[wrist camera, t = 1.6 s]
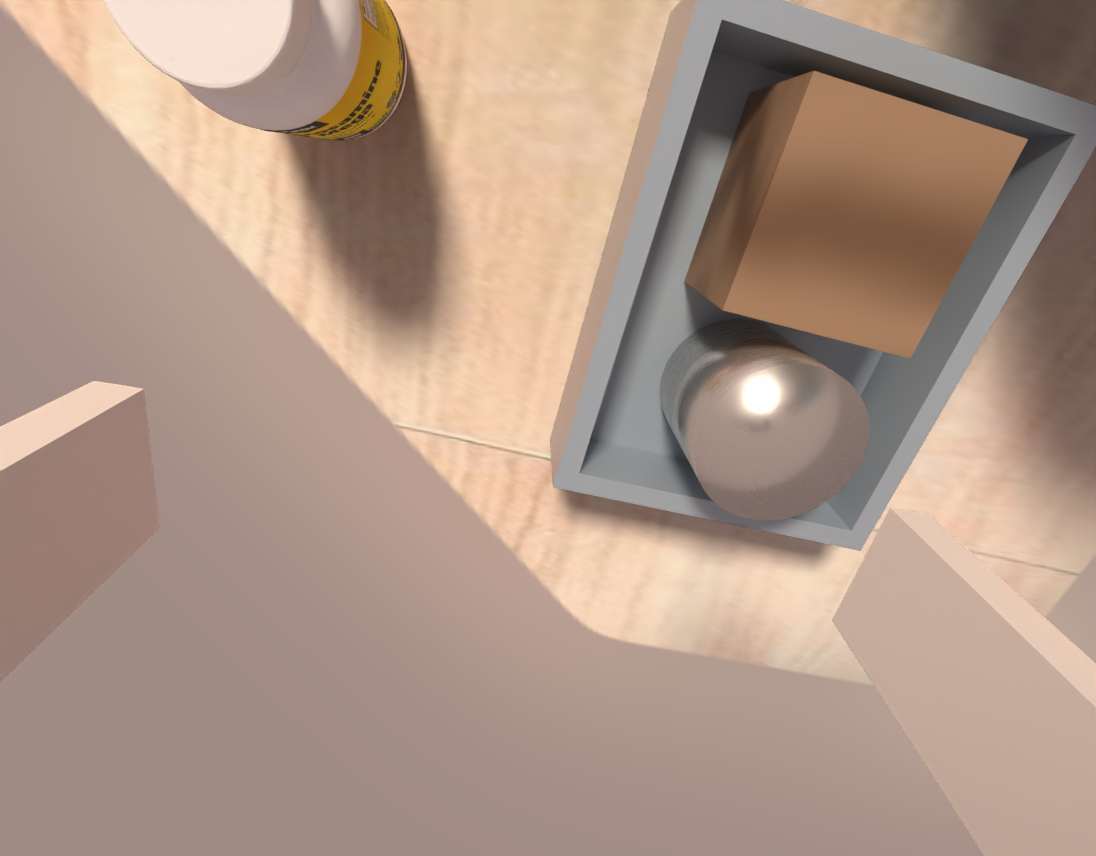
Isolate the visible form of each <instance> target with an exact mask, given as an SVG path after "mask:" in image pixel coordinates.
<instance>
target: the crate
mask: <svg viewBox="0 0 1096 856" xmlns="http://www.w3.org/2000/svg"><path fill="white" fill-rule="evenodd" d="M811 71H817V72H820V73H823V74H826V75H829V76H832V77H835V78H839V79H842V80H845V81H848V82H851V83H854V84H857V85H860V86H864V87H867V88H870V89H873V90H876V91H879V92H882V93H885V94H889V95H892V96H895V97H898V98H901V99H904V100H907V101H910V102H914V103H917V104H920V105H923V106H926V107H929V108H932V109H935V110H939V111H942V112H945V113H948V114H951V115H954V116H957V117H960V118H963V119H967V120H970V121H973V122H976V123H979V124H982V125H985V126H988V127H992V128H995V129H998V130H1001V131H1004V132H1007V133H1010V134H1013V135H1017V136H1020V137H1023V138H1026V139H1028V141H1027V143H1026V144H1025V146H1024V148H1023V150H1022V152H1021V154H1020V156H1019V157H1018V159H1017V161H1016V163H1015V165H1014V167H1013V169H1012V171H1011V172H1010V174H1009V176H1008V178H1007V180H1006V182H1005V184H1004V185H1003V187H1002V189H1001V191H1000V193H999V195H998V197H997V198H996V200H995V202H994V204H993V206H992V208H991V210H990V212H989V213H988V215H987V217H986V219H985V221H984V223H983V225H982V226H981V228H980V230H979V232H978V234H977V236H976V238H975V239H974V241H973V243H972V245H971V247H970V249H969V251H968V253H967V254H966V256H965V258H964V260H963V262H962V264H961V266H960V267H959V269H958V271H957V273H956V275H955V277H954V279H953V281H952V282H951V284H950V286H949V288H948V290H947V292H946V294H945V295H944V297H943V299H942V301H941V303H940V305H939V307H938V308H937V310H936V312H935V314H934V316H933V318H932V320H931V322H930V323H929V325H928V327H927V329H926V331H925V333H924V335H923V336H922V338H921V340H920V342H919V344H918V346H917V348H916V349H915V351H914V353H913V355H912V357H911V359H910V358H906V357H903V356H899V355H895V354H891V353H887V352H883V351H879V350H875V349H871V348H868V347H864V346H860V345H856V344H852V343H848V342H844V341H840V340H836V339H832V338H829V337H825V336H821V335H817V334H813V333H809V332H805V331H801V330H797V329H794V328H790V327H786V326H782V325H778V324H774V323H770V322H766V321H762V320H758V319H755V318H751V317H747V316H743V315H739V314H735V313H731V312H727V311H723V310H722V309H720V308H719V307H718V306H716V305H715V304H714V303H712V302H711V301H710V300H708V299H707V298H706V297H704V296H703V295H702V294H700V293H699V292H698V291H696V290H695V289H694V288H692V287H691V286H690V285H688V284H687V283H686V282H684V280H685V277H686V275H687V272H688V269H689V266H690V263H691V260H692V257H693V254H694V251H695V249H696V246H697V243H698V240H699V237H700V234H701V231H702V228H703V225H704V223H705V220H706V217H707V214H708V211H709V208H710V205H711V202H712V199H713V197H714V194H715V191H716V188H717V185H718V182H719V179H720V176H721V173H722V171H723V168H724V165H725V162H726V159H727V156H728V153H729V150H730V147H731V145H732V142H733V139H734V136H735V133H736V130H737V127H738V124H739V121H740V119H741V116H742V113H743V110H744V107H745V104H746V101H747V98H748V95H749V93H750V92H753V91H756V90H759V89H762V88H765V87H767V86H770V85H773V84H776V83H779V82H782V81H785V80H788V79H791V78H794V77H797V76H800V75H803V74H806V73H809V72H811ZM1095 148H1096V105H1093V104H1090V103H1088V102H1085V101H1082V100H1079V99H1076V98H1073V97H1070V96H1067V95H1064V94H1061V93H1058V92H1055V91H1052V90H1049V89H1046V88H1043V87H1040V86H1037V85H1034V84H1031V83H1028V82H1025V81H1022V80H1019V79H1016V78H1013V77H1010V76H1007V75H1004V74H1001V73H998V72H995V71H992V70H989V69H986V68H983V67H980V66H977V65H974V64H971V63H968V62H965V61H962V60H959V59H956V58H953V57H950V56H947V55H944V54H941V53H938V52H935V51H932V50H929V49H926V48H923V47H920V46H917V45H914V44H911V43H908V42H905V41H902V40H899V39H896V38H893V37H890V36H887V35H884V34H881V33H878V32H875V31H872V30H869V29H866V28H863V27H860V26H857V25H854V24H851V23H848V22H845V21H842V20H839V19H836V18H833V17H830V16H827V15H824V14H821V13H818V12H815V11H812V10H810V9H807V8H804V7H801V6H798V5H795V4H792V3H789V2H786V1H783V0H681V1H680V3H679V4H678V5H677V6H676V7H675V8H674V9H673V10H672V11H671V14H670V17H669V21H668V24H667V28H666V31H665V35H664V39H663V42H662V46H661V49H660V53H659V56H658V60H657V63H656V67H655V70H654V74H653V77H652V81H651V85H650V88H649V92H648V95H647V99H646V102H645V106H644V109H643V113H642V116H641V120H640V124H639V127H638V131H637V134H636V138H635V141H634V145H633V148H632V152H631V155H630V159H629V162H628V166H627V170H626V173H625V177H624V180H623V184H622V187H621V191H620V194H619V198H618V201H617V205H616V208H615V212H614V216H613V219H612V223H611V226H610V230H609V233H608V237H607V240H606V244H605V247H604V251H603V254H602V258H601V262H600V265H599V269H598V272H597V276H596V279H595V283H594V286H593V290H592V293H591V297H590V301H589V304H588V308H587V311H586V315H585V318H584V322H583V325H582V329H581V332H580V336H579V339H578V343H577V347H576V350H575V354H574V357H573V361H572V364H571V368H570V371H569V375H568V378H567V382H566V385H565V389H564V393H563V396H562V400H561V403H560V407H559V410H558V414H557V417H556V421H555V424H554V428H553V431H552V435H551V439H550V449H551V465H552V480H553V487H554V488H559V489H564V490H569V491H574V492H578V493H583V494H588V495H593V496H598V497H603V498H607V499H612V500H617V501H622V502H627V503H632V504H637V505H641V506H646V507H651V508H656V509H661V510H666V511H670V512H675V513H680V514H685V515H690V516H695V517H699V518H704V519H709V520H714V521H719V522H724V523H728V524H733V525H738V526H743V527H748V528H753V529H757V530H762V531H767V532H772V533H777V534H782V535H786V536H791V537H796V538H801V539H806V540H811V541H815V542H820V543H825V544H830V545H835V546H840V547H844V548H849V549H854V550H859V551H861V549H862V547H863V545H864V544H865V542H866V540H867V539H868V537H869V535H870V533H871V532H872V530H873V528H874V527H875V525H876V523H877V521H878V520H879V518H880V516H881V515H882V513H883V511H884V509H885V508H886V506H887V504H888V503H889V501H890V499H891V497H892V496H893V494H894V492H895V491H896V489H897V487H898V485H899V484H900V482H901V480H902V479H903V477H904V475H905V473H906V472H907V470H908V468H909V467H910V465H911V463H912V461H913V460H914V458H915V456H916V455H917V453H918V451H919V449H920V448H921V446H922V444H923V443H924V441H925V439H926V437H927V436H928V434H929V432H930V431H931V429H932V427H933V425H934V424H935V422H936V420H937V419H938V417H939V415H940V413H941V412H942V410H943V408H944V407H945V405H946V403H947V401H948V400H949V398H950V396H951V395H952V393H953V391H954V389H955V388H956V386H957V384H958V383H959V381H960V379H961V377H962V376H963V374H964V372H965V371H966V369H967V367H968V365H969V364H970V362H971V360H972V359H973V357H974V355H975V353H976V352H977V350H978V348H979V346H980V345H981V343H982V341H983V340H984V338H985V336H986V334H987V333H988V331H989V329H990V328H991V326H992V324H993V322H994V321H995V319H996V317H997V316H998V314H999V312H1000V310H1001V309H1002V307H1003V305H1004V304H1005V302H1006V300H1007V298H1008V297H1009V295H1010V293H1011V292H1012V290H1013V288H1014V286H1015V285H1016V283H1017V281H1018V280H1019V278H1020V276H1021V274H1022V273H1023V271H1024V269H1025V268H1026V266H1027V264H1028V262H1029V261H1030V259H1031V257H1032V256H1033V254H1034V252H1035V250H1036V249H1037V247H1038V245H1039V244H1040V242H1041V240H1042V238H1043V237H1044V235H1045V233H1046V232H1047V230H1048V228H1049V226H1050V225H1051V223H1052V221H1053V220H1054V218H1055V216H1056V214H1057V213H1058V211H1059V209H1060V208H1061V206H1062V204H1063V202H1064V201H1065V199H1066V197H1067V196H1068V194H1069V192H1070V190H1071V189H1072V187H1073V185H1074V184H1075V182H1076V180H1077V178H1078V177H1079V175H1080V173H1081V172H1082V170H1083V168H1084V166H1085V165H1086V163H1087V161H1088V160H1089V158H1090V156H1091V154H1092V153H1093V151H1094V149H1095ZM734 319H738V320H749V321H754V322H757V323H760V324H763V325H765V326H767V327H769V328H770V329H772V330H773V331H775V332H776V333H778V334H779V335H781V336H782V337H784V338H785V339H787V340H788V341H790V342H791V343H793V344H794V345H796V346H797V347H798V348H800V349H801V350H803V351H804V352H806V353H807V354H809V355H810V356H812V357H813V358H815V359H816V360H818V361H819V362H821V363H822V364H824V365H825V366H826V367H828V368H829V369H831V370H832V371H834V372H835V373H837V374H838V375H840V376H841V377H843V378H844V379H845V380H847V381H848V382H849V383H850V384H851V385H852V386H853V387H854V388H855V389H856V390H857V392H858V393H859V395H860V396H861V398H862V400H863V402H864V404H865V406H866V409H867V413H868V417H869V439H868V445H867V448H866V452H865V455H864V457H863V459H862V461H861V464H860V466H859V467H858V469H857V470H856V472H855V474H854V475H853V476H852V478H851V479H850V480H849V481H848V483H847V484H846V485H845V486H844V487H843V488H842V489H841V490H840V491H839V492H838V493H837V494H835V495H834V496H833V497H832V498H831V499H829V500H828V501H826V502H825V503H823V504H822V505H820V506H818V507H816V508H814V509H812V510H810V511H808V512H805V513H803V514H801V515H797V516H794V517H791V518H786V519H780V520H769V521H767V520H753V519H747V518H743V517H740V516H737V515H734V514H732V513H730V512H728V511H726V510H725V509H723V508H721V507H720V506H719V505H717V504H716V503H715V502H714V501H713V500H712V499H711V498H710V497H709V496H708V495H707V493H706V492H705V490H704V489H703V487H702V485H701V484H700V482H699V480H698V478H697V476H696V474H695V472H694V470H693V469H692V467H691V465H690V463H689V461H688V459H687V457H686V455H685V453H684V452H683V450H682V448H681V446H680V444H679V442H678V440H677V438H676V437H675V435H674V433H673V431H672V429H671V427H670V425H669V423H668V422H667V420H666V418H665V415H664V413H663V411H662V407H661V403H660V382H661V377H662V374H663V370H664V368H665V366H666V363H667V362H668V360H669V358H670V356H671V355H672V354H673V352H674V351H675V350H676V348H677V347H678V346H679V345H680V344H681V343H682V342H683V341H684V340H685V339H686V338H688V337H689V336H690V335H691V334H693V333H695V332H696V331H698V330H699V329H701V328H703V327H705V326H708V325H710V324H713V323H716V322H720V321H725V320H734Z"/></svg>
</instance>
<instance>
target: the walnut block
mask: <svg viewBox="0 0 1096 856" xmlns="http://www.w3.org/2000/svg"><path fill="white" fill-rule="evenodd" d="M1027 141H1028V139H1026V138H1023V137H1020V136H1017V135H1013V134H1010V133H1007V132H1004V131H1001V130H998V129H995V128H992V127H988V126H985V125H982V124H979V123H976V122H973V121H970V120H967V119H963V118H960V117H957V116H954V115H951V114H948V113H945V112H942V111H939V110H935V109H932V108H929V107H926V106H923V105H920V104H917V103H914V102H910V101H907V100H904V99H901V98H898V97H895V96H892V95H889V94H885V93H882V92H879V91H876V90H873V89H870V88H867V87H864V86H860V85H857V84H854V83H851V82H848V81H845V80H842V79H839V78H835V77H832V76H829V75H826V74H823V73H820V72H817V71H811V72H809V73H806V74H803V75H800V76H797V77H794V78H791V79H788V80H785V81H782V82H779V83H776V84H773V85H770V86H767V87H765V88H762V89H759V90H756V91H753V92H750V93H749V95H748V98H747V101H746V104H745V107H744V110H743V113H742V116H741V119H740V121H739V124H738V127H737V130H736V133H735V136H734V139H733V142H732V145H731V147H730V150H729V153H728V156H727V159H726V162H725V165H724V168H723V171H722V173H721V176H720V179H719V182H718V185H717V188H716V191H715V194H714V197H713V199H712V202H711V205H710V208H709V211H708V214H707V217H706V220H705V223H704V225H703V228H702V231H701V234H700V237H699V240H698V243H697V246H696V249H695V251H694V254H693V257H692V260H691V263H690V266H689V269H688V272H687V275H686V277H685V280H684V282H686V283H687V284H688V285H690V286H691V287H692V288H694V289H695V290H696V291H698V292H699V293H700V294H702V295H703V296H704V297H706V298H707V299H708V300H710V301H711V302H712V303H714V304H715V305H716V306H718V307H719V308H720V309H722V310H723V311H727V312H731V313H735V314H739V315H743V316H747V317H751V318H755V319H758V320H762V321H766V322H770V323H774V324H778V325H782V326H786V327H790V328H794V329H797V330H801V331H805V332H809V333H813V334H817V335H821V336H825V337H829V338H832V339H836V340H840V341H844V342H848V343H852V344H856V345H860V346H864V347H868V348H871V349H875V350H879V351H883V352H887V353H891V354H895V355H899V356H903V357H906V358H910V359H911V357H912V355H913V353H914V351H915V349H916V348H917V346H918V344H919V342H920V340H921V338H922V336H923V335H924V333H925V331H926V329H927V327H928V325H929V323H930V322H931V320H932V318H933V316H934V314H935V312H936V310H937V308H938V307H939V305H940V303H941V301H942V299H943V297H944V295H945V294H946V292H947V290H948V288H949V286H950V284H951V282H952V281H953V279H954V277H955V275H956V273H957V271H958V269H959V267H960V266H961V264H962V262H963V260H964V258H965V256H966V254H967V253H968V251H969V249H970V247H971V245H972V243H973V241H974V239H975V238H976V236H977V234H978V232H979V230H980V228H981V226H982V225H983V223H984V221H985V219H986V217H987V215H988V213H989V212H990V210H991V208H992V206H993V204H994V202H995V200H996V198H997V197H998V195H999V193H1000V191H1001V189H1002V187H1003V185H1004V184H1005V182H1006V180H1007V178H1008V176H1009V174H1010V172H1011V171H1012V169H1013V167H1014V165H1015V163H1016V161H1017V159H1018V157H1019V156H1020V154H1021V152H1022V150H1023V148H1024V146H1025V144H1026V143H1027Z"/></svg>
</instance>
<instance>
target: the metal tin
mask: <svg viewBox="0 0 1096 856" xmlns="http://www.w3.org/2000/svg"><path fill="white" fill-rule="evenodd" d="M660 403H661V407H662V411H663V413H664V415H665V418H666V420H667V422H668V423H669V425H670V427H671V429H672V431H673V433H674V435H675V437H676V438H677V440H678V442H679V444H680V446H681V448H682V450H683V452H684V453H685V455H686V457H687V459H688V461H689V463H690V465H691V467H692V469H693V470H694V472H695V474H696V476H697V478H698V480H699V482H700V484H701V485H702V487H703V489H704V490H705V492H706V493H707V495H708V496H709V497H710V498H711V499H712V500H713V501H714V502H715V503H716V504H717V505H719V506H720V507H721V508H723V509H725V510H726V511H728V512H730V513H732V514H734V515H737V516H740V517H743V518H747V519H753V520H767V521H769V520H780V519H786V518H791V517H794V516H797V515H801V514H803V513H805V512H808V511H810V510H812V509H814V508H816V507H818V506H820V505H822V504H823V503H825V502H826V501H828V500H829V499H831V498H832V497H833V496H834V495H835V494H837V493H838V492H839V491H840V490H841V489H842V488H843V487H844V486H845V485H846V484H847V483H848V481H849V480H850V479H851V478H852V476H853V475H854V474H855V472H856V470H857V469H858V467H859V466H860V464H861V461H862V459H863V457H864V455H865V452H866V448H867V445H868V439H869V417H868V413H867V409H866V406H865V404H864V402H863V400H862V398H861V396H860V395H859V393H858V392H857V390H856V389H855V388H854V387H853V386H852V385H851V384H850V383H849V382H848V381H847V380H845V379H844V378H843V377H841V376H840V375H838V374H837V373H835V372H834V371H832V370H831V369H829V368H828V367H826V366H825V365H824V364H822V363H821V362H819V361H818V360H816V359H815V358H813V357H812V356H810V355H809V354H807V353H806V352H804V351H803V350H801V349H800V348H798V347H797V346H796V345H794V344H793V343H791V342H790V341H788V340H787V339H785V338H784V337H782V336H781V335H779V334H778V333H776V332H775V331H773V330H772V329H770V328H769V327H767V326H765V325H763V324H760V323H757V322H754V321H749V320H738V319H734V320H725V321H720V322H716V323H713V324H710V325H708V326H705V327H703V328H701V329H699V330H698V331H696V332H695V333H693V334H691V335H690V336H689V337H688V338H686V339H685V340H684V341H683V342H682V343H681V344H680V345H679V346H678V347H677V348H676V350H675V351H674V352H673V354H672V355H671V356H670V358H669V360H668V362H667V363H666V366H665V368H664V370H663V374H662V377H661V382H660Z"/></svg>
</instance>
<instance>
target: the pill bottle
mask: <svg viewBox="0 0 1096 856" xmlns="http://www.w3.org/2000/svg"><path fill="white" fill-rule="evenodd" d="M104 1H105V3H106V5H107V7H108V9H109V11H110V13H111V15H112V17H113V19H114V20H115V22H116V24H117V25H118V27H119V28H120V30H121V31H122V33H123V34H124V35H125V37H126V38H127V39H128V40H129V42H130V43H131V44H132V45H133V47H134V48H135V49H136V50H137V51H138V52H139V53H140V54H141V55H142V56H143V57H144V58H145V59H147V60H148V61H149V62H150V63H151V64H152V65H154V66H155V67H156V68H158V69H159V70H161V71H162V72H164V73H165V74H167V75H168V76H170V77H172V78H174V79H175V80H177V81H179V82H180V83H181V84H182V85H183V86H184V88H185V89H186V90H187V91H188V92H190V93H191V94H192V95H193V96H194V97H195V98H196V99H197V100H199V101H200V102H201V103H203V104H204V105H205V106H207V107H208V108H210V109H211V110H213V111H214V112H216V113H218V114H220V115H221V116H223V117H225V118H227V119H229V120H232V121H234V122H236V123H239V124H242V125H245V126H249V127H252V128H257V129H261V130H265V131H270V132H280V133H285V134H292V135H299V136H306V137H314V138H321V139H327V140H351V139H356V138H360V137H363V136H366V135H368V134H370V133H372V132H373V131H375V130H377V129H378V128H379V127H381V126H382V125H383V124H384V123H385V122H386V121H387V120H388V119H389V118H390V116H391V115H392V114H393V113H394V111H395V109H396V108H397V106H398V104H399V102H400V99H401V97H402V94H403V90H404V86H405V81H406V73H407V59H406V51H405V45H404V41H403V36H402V33H401V30H400V27H399V25H398V22H397V20H396V18H395V16H394V14H393V12H392V10H391V9H390V7H389V5H388V4H387V2H386V1H385V0H104Z"/></svg>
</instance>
